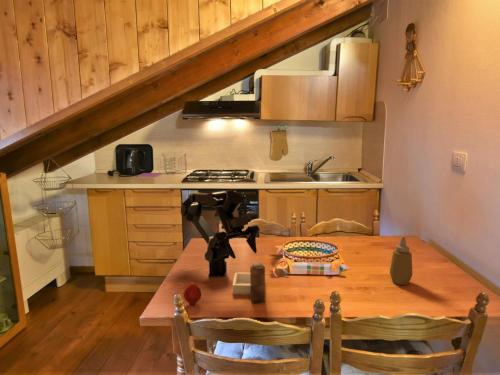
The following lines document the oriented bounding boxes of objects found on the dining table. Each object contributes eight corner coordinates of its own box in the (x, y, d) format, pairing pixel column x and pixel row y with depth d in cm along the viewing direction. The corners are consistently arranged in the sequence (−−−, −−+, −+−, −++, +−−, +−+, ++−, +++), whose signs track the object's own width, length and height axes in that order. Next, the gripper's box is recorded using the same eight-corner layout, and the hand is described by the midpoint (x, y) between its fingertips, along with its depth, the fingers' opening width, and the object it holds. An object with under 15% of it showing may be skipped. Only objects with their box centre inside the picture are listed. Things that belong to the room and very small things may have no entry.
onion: (185, 300, 129) (184, 279, 127) (201, 299, 129) (201, 278, 128) (183, 309, 123) (182, 286, 121) (201, 308, 123) (200, 285, 122)
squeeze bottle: (411, 279, 144) (414, 234, 141) (412, 288, 136) (416, 241, 133) (388, 276, 146) (391, 233, 143) (389, 285, 139) (392, 239, 136)
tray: (232, 294, 133) (232, 285, 132) (235, 281, 144) (235, 272, 143) (263, 294, 132) (263, 285, 132) (264, 281, 143) (264, 272, 143)
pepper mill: (250, 303, 126) (249, 267, 124) (250, 296, 131) (250, 261, 129) (265, 303, 126) (264, 267, 124) (265, 296, 131) (264, 261, 128)
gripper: (213, 211, 129) (232, 249, 122) (256, 203, 140) (275, 238, 133) (203, 228, 137) (220, 265, 130) (245, 220, 147) (262, 254, 140)
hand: (245, 255), depth 133 cm, fingers open, 9 cm apart
